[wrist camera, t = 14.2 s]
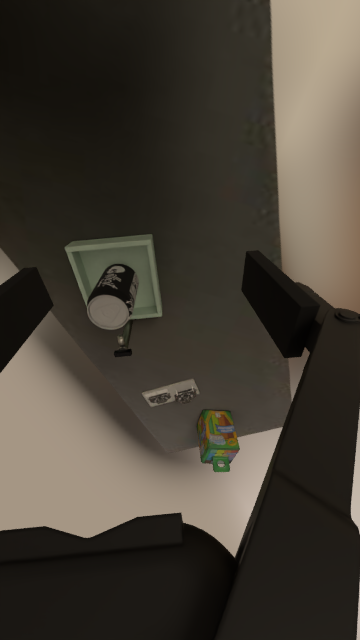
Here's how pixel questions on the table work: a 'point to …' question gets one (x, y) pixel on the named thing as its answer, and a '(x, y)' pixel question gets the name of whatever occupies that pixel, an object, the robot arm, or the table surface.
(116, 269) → the beverage can
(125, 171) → the table surface
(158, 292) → the sink
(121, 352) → the tap
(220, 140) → the table surface
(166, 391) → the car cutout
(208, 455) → the chalk box
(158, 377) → the table surface
